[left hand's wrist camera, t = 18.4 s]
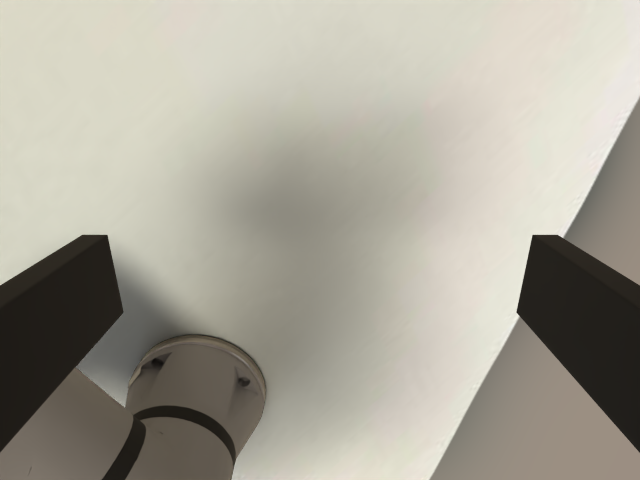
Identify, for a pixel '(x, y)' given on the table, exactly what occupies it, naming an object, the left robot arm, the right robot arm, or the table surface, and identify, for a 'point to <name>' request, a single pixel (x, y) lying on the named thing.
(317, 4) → the table surface
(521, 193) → the table surface
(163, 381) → the left robot arm
